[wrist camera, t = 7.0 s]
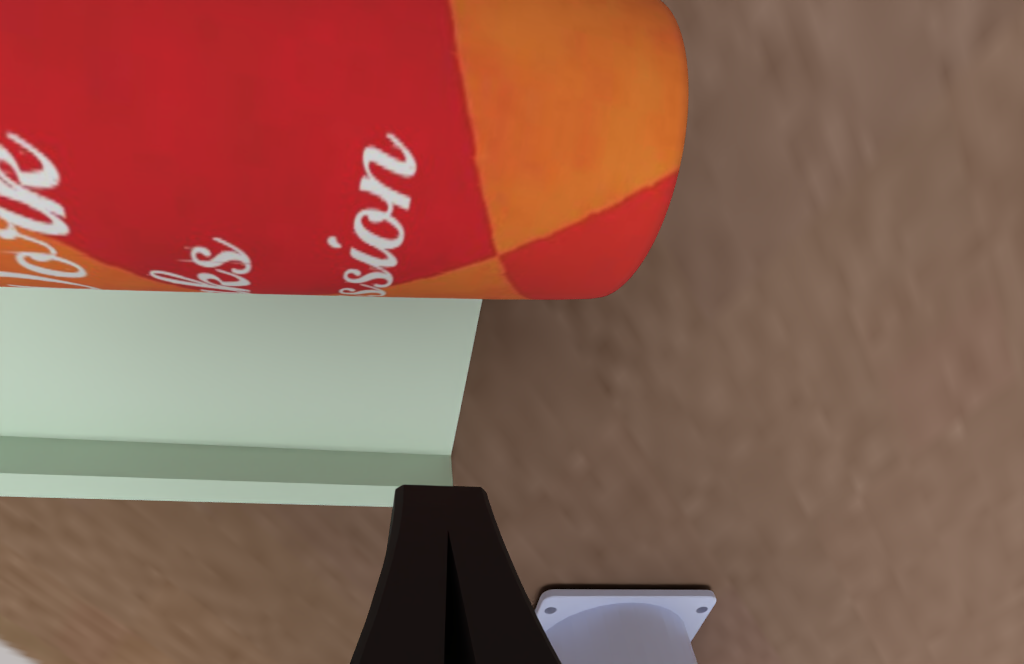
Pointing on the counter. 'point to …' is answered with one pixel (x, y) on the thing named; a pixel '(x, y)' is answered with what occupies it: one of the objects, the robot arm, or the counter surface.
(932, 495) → the counter surface
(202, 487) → the tray
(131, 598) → the counter surface
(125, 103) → the coffee cup
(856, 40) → the counter surface
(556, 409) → the counter surface
